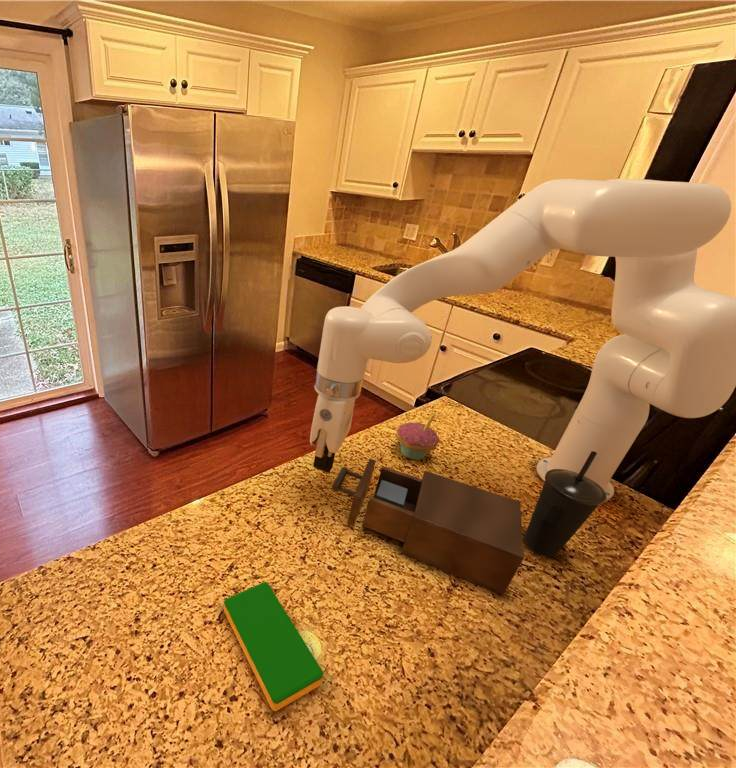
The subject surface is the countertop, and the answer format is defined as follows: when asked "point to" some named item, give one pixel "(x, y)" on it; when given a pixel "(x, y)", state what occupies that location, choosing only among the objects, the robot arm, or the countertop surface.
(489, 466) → the countertop surface
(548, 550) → the drinking cup
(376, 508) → the drawer
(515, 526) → the cabinet
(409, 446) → the cupcake
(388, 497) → the block
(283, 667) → the dish sponge
